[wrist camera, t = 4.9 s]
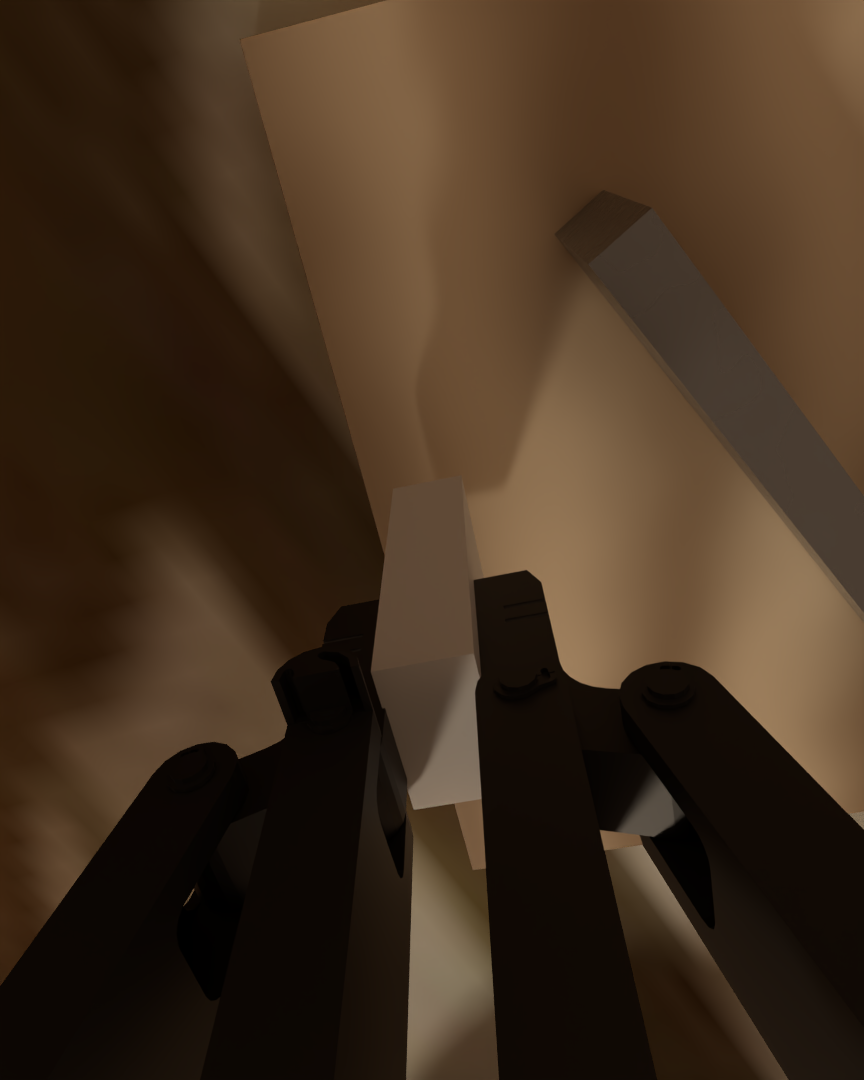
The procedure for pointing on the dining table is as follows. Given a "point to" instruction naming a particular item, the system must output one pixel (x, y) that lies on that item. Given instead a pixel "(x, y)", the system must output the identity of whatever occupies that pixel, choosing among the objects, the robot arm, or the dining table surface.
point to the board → (594, 311)
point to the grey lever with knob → (723, 380)
